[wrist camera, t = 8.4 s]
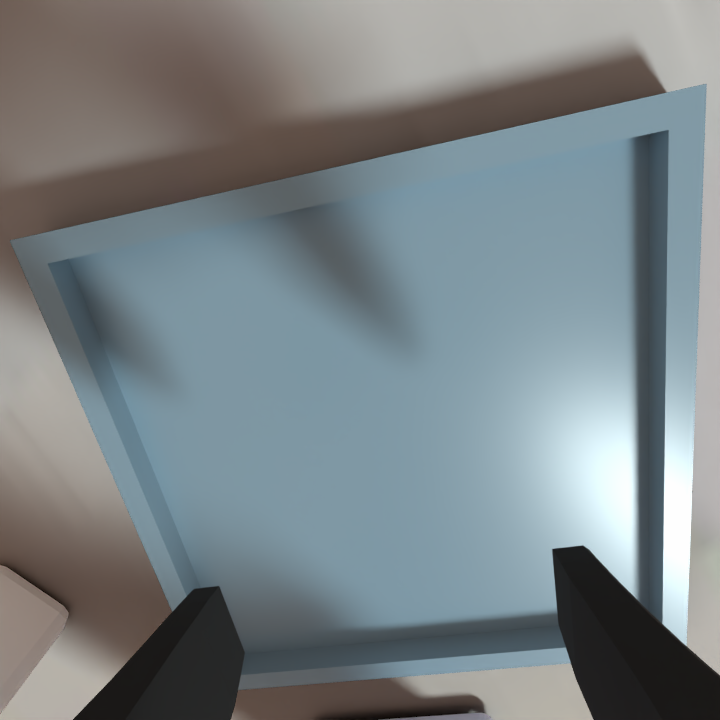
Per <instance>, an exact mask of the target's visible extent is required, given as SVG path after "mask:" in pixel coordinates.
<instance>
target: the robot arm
mask: <svg viewBox="0 0 720 720" xmlns="http://www.w3.org/2000/svg"><path fill="white" fill-rule="evenodd" d="M552 555H553V567H554V579H555V591H556V603H557V614H558V625H559V628H560V631H561V634H562V637H563V640H564V643H565V646H566V650H567V653H568V656H569V659H570V662H571V665H572V668H573V671H574V674H575V677H576V680H577V682H578V684H579V687H580V689H581V691H582V694H583V696H584V698H585V701H586V703H587V705H588V708H589V710H590V712H591V715H592V717H593V719H594V720H720V675H719V674H717V673H716V672H715V671H714V670H713V669H712V668H710V667H709V666H708V665H707V664H706V663H705V662H704V661H702V660H701V659H700V658H699V657H698V656H697V655H696V654H695V653H693V652H692V651H691V650H690V649H689V648H688V647H687V646H686V645H685V644H683V643H682V642H681V641H680V640H679V639H678V638H677V637H676V636H675V635H674V634H673V633H672V632H671V631H669V630H668V629H667V628H666V627H665V626H664V625H663V624H662V623H661V622H660V621H659V620H658V619H657V618H656V617H655V616H653V615H652V614H651V613H650V612H649V611H648V610H647V609H646V608H645V607H644V606H643V605H642V604H641V603H640V602H639V601H638V600H637V599H636V598H635V597H634V596H633V595H632V594H631V593H630V592H629V591H628V590H627V589H626V588H625V587H624V586H623V585H622V584H621V583H620V582H619V581H618V580H617V579H616V578H615V577H614V576H613V575H612V574H611V573H610V572H609V571H608V569H607V568H606V567H605V566H604V565H603V564H602V563H601V562H600V561H599V560H598V559H597V558H596V557H595V556H594V554H593V553H592V552H591V551H590V550H589V549H588V548H586V547H585V546H583V545H582V546H573V547H564V548H555V549H552ZM244 655H245V651H244V649H243V646H242V644H241V641H240V639H239V636H238V633H237V631H236V628H235V626H234V623H233V620H232V618H231V615H230V613H229V610H228V607H227V605H226V602H225V600H224V597H223V594H222V592H221V589H220V587H219V586H214V587H205V588H196V589H193V590H192V591H191V592H190V593H189V594H188V595H187V597H186V598H185V599H184V600H183V601H182V602H181V603H180V604H179V605H178V606H177V607H176V608H175V610H174V611H173V612H172V613H171V614H170V615H169V616H168V617H167V619H166V620H165V621H164V622H163V623H162V624H161V625H160V626H159V628H158V629H157V630H156V631H155V632H154V633H153V634H152V635H151V637H150V638H149V639H148V640H147V641H146V642H145V643H144V644H143V645H142V647H141V648H140V649H139V650H138V651H137V652H136V653H135V654H134V655H133V656H132V658H131V659H130V660H129V661H128V662H127V663H126V664H125V665H124V666H123V667H122V669H121V670H120V671H119V672H118V673H117V674H116V675H115V676H114V677H113V678H112V680H111V681H110V682H109V683H108V684H107V685H106V686H105V687H104V688H103V689H102V690H101V691H100V692H99V693H98V694H97V695H96V696H95V697H94V698H93V699H92V700H91V701H90V702H89V703H88V704H87V706H86V707H85V708H84V709H83V710H82V711H81V712H80V713H79V714H78V715H77V716H76V717H75V718H74V719H73V720H231V716H232V713H233V710H234V706H235V702H236V697H237V692H238V687H239V683H240V677H241V672H242V666H243V661H244ZM380 720H492V719H491V717H490V716H489V715H487V714H485V713H466V714H452V715H438V716H423V717H409V718H395V719H380Z"/></svg>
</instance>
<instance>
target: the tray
mask: <svg viewBox="0 0 720 720" xmlns="http://www.w3.org/2000/svg"><path fill="white" fill-rule="evenodd" d="M705 112H706V84H703V85H699V86H694V87H690V88H685V89H681V90H676V91H672V92H667V93H663V94H659V95H654V96H650V97H645V98H641V99H636V100H632V101H627V102H623V103H619V104H614V105H610V106H605V107H601V108H596V109H592V110H587V111H583V112H579V113H574V114H570V115H565V116H561V117H556V118H552V119H547V120H543V121H539V122H534V123H530V124H525V125H521V126H516V127H512V128H507V129H503V130H499V131H494V132H490V133H485V134H481V135H476V136H472V137H467V138H463V139H459V140H454V141H450V142H445V143H441V144H436V145H432V146H427V147H423V148H419V149H414V150H410V151H405V152H401V153H396V154H392V155H387V156H383V157H378V158H374V159H370V160H365V161H361V162H356V163H352V164H347V165H343V166H338V167H334V168H330V169H325V170H321V171H316V172H312V173H307V174H303V175H298V176H294V177H290V178H285V179H281V180H276V181H272V182H267V183H263V184H258V185H254V186H250V187H245V188H241V189H236V190H232V191H227V192H223V193H218V194H214V195H210V196H205V197H201V198H196V199H192V200H187V201H183V202H178V203H174V204H170V205H165V206H161V207H156V208H152V209H147V210H143V211H138V212H134V213H130V214H125V215H121V216H116V217H112V218H107V219H103V220H98V221H94V222H90V223H85V224H81V225H76V226H72V227H67V228H63V229H58V230H54V231H50V232H45V233H41V234H36V235H32V236H27V237H23V238H18V239H14V240H10V243H11V245H12V247H13V249H14V252H15V254H16V256H17V259H18V261H19V263H20V265H21V268H22V270H23V272H24V274H25V277H26V279H27V281H28V284H29V286H30V288H31V290H32V293H33V295H34V297H35V300H36V302H37V304H38V306H39V309H40V311H41V313H42V316H43V318H44V320H45V322H46V325H47V327H48V329H49V332H50V334H51V336H52V338H53V341H54V343H55V345H56V348H57V350H58V352H59V354H60V357H61V359H62V361H63V364H64V366H65V368H66V370H67V373H68V375H69V377H70V380H71V382H72V384H73V386H74V389H75V391H76V393H77V396H78V398H79V400H80V402H81V405H82V407H83V409H84V412H85V414H86V416H87V418H88V421H89V423H90V425H91V428H92V430H93V432H94V434H95V437H96V439H97V441H98V443H99V446H100V448H101V450H102V453H103V455H104V457H105V459H106V462H107V464H108V466H109V469H110V471H111V473H112V475H113V478H114V480H115V482H116V485H117V487H118V489H119V491H120V494H121V496H122V498H123V501H124V503H125V505H126V507H127V510H128V512H129V514H130V517H131V519H132V521H133V523H134V526H135V528H136V530H137V533H138V535H139V537H140V539H141V542H142V544H143V546H144V549H145V551H146V553H147V555H148V558H149V560H150V562H151V565H152V567H153V569H154V571H155V574H156V576H157V578H158V581H159V583H160V585H161V587H162V590H163V592H164V594H165V597H166V599H167V601H168V603H169V606H170V608H171V610H172V612H173V611H174V610H175V608H176V607H177V606H178V605H179V604H180V603H181V602H182V601H183V600H184V599H185V598H186V597H187V595H188V594H189V593H190V592H191V591H192V590H193V589H196V588H205V587H214V586H219V587H220V589H221V592H222V594H223V597H224V600H225V602H226V605H227V607H228V610H229V613H230V615H231V618H232V620H233V623H234V626H235V628H236V631H237V633H238V636H239V639H240V641H241V644H242V646H243V649H244V651H245V655H244V661H243V666H242V672H241V677H240V683H239V687H238V690H246V689H258V688H271V687H283V686H295V685H308V684H320V683H332V682H345V681H357V680H369V679H382V678H394V677H406V676H419V675H431V674H444V673H456V672H468V671H481V670H493V669H505V668H518V667H530V666H542V665H555V664H567V663H571V662H570V659H569V656H568V653H567V650H566V646H565V643H564V640H563V637H562V634H561V631H560V628H559V625H558V614H557V603H556V591H555V579H554V567H553V555H552V549H555V548H564V547H573V546H582V545H583V546H585V547H586V548H588V549H589V550H590V551H591V552H592V553H593V554H594V556H595V557H596V558H597V559H598V560H599V561H600V562H601V563H602V564H603V565H604V566H605V567H606V568H607V569H608V571H609V572H610V573H611V574H612V575H613V576H614V577H615V578H616V579H617V580H618V581H619V582H620V583H621V584H622V585H623V586H624V587H625V588H626V589H627V590H628V591H629V592H630V593H631V594H632V595H633V596H634V597H635V598H636V599H637V600H638V601H639V602H640V603H641V604H642V605H643V606H644V607H645V608H646V609H647V610H648V611H649V612H650V613H651V614H652V615H653V616H655V617H656V618H657V619H658V620H659V621H660V622H661V623H662V624H663V625H664V626H665V627H666V628H667V629H668V630H669V631H671V632H672V633H673V634H674V635H675V636H676V637H677V638H678V639H679V640H680V641H681V642H682V643H683V644H685V645H687V617H688V589H689V561H690V533H691V505H692V477H693V449H694V421H695V392H696V364H697V336H698V308H699V280H700V252H701V224H702V196H703V168H704V140H705Z"/></svg>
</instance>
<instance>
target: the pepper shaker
mask: <svg viewBox="0 0 720 720" xmlns="http://www.w3.org/2000/svg"><path fill="white" fill-rule="evenodd" d="M68 615H69V613H68V611H67V610H66V608H65V607H64V606H63V605H62V604H60V603H59V602H57V601H56V600H54V599H53V598H51V597H50V596H49V595H47V594H46V593H44V592H43V591H41V590H40V589H38V588H37V587H35V586H34V585H32V584H31V583H29V582H28V581H27V580H25V579H24V578H22V577H21V576H19V575H18V574H16V573H15V572H13V571H12V570H10V569H9V568H7V567H5V566H1V565H0V714H1V713H2V711H3V710H4V708H5V707H6V706H7V704H8V703H9V702H10V700H11V699H12V698H13V696H14V695H15V694H16V692H17V691H18V690H19V688H20V687H21V686H22V684H23V683H24V682H25V680H26V679H27V678H28V676H29V675H30V674H31V672H32V671H33V670H34V668H35V667H36V666H37V664H38V663H39V662H40V660H41V659H42V658H43V656H44V655H45V653H46V652H47V651H48V649H49V648H50V647H51V645H52V644H53V643H54V641H55V640H56V639H57V637H58V636H59V635H60V633H61V632H62V631H63V629H64V628H65V624H66V620H67V617H68Z"/></svg>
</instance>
